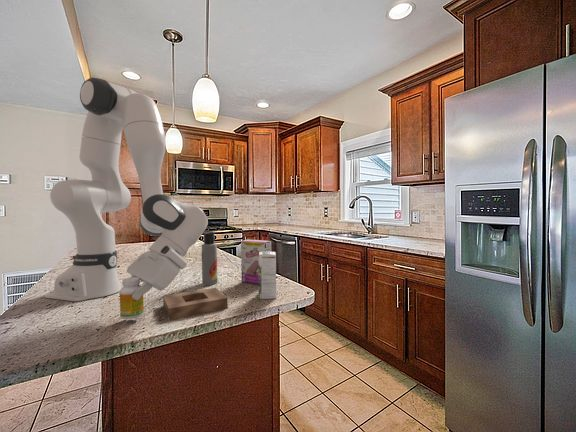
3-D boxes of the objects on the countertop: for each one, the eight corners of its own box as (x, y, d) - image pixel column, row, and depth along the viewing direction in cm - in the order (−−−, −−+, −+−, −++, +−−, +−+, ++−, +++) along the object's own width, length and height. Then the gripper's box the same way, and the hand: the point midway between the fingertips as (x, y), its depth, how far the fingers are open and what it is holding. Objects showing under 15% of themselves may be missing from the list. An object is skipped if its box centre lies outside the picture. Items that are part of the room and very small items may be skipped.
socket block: (169, 319, 75) (168, 308, 74) (163, 305, 85) (163, 296, 85) (227, 307, 83) (227, 297, 83) (215, 296, 93) (215, 287, 93)
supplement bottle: (133, 320, 71) (132, 282, 70) (115, 318, 72) (114, 281, 72) (148, 312, 76) (147, 276, 76) (130, 310, 77) (129, 275, 77)
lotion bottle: (220, 282, 110) (219, 231, 109) (209, 286, 105) (208, 232, 104) (210, 280, 113) (209, 230, 112) (199, 283, 108) (197, 232, 107)
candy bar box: (240, 282, 109) (240, 240, 109) (247, 279, 114) (247, 239, 113) (266, 285, 105) (265, 242, 104) (272, 282, 109) (271, 240, 109)
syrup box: (258, 293, 95) (258, 251, 95) (276, 293, 96) (275, 251, 95) (258, 299, 90) (257, 254, 89) (276, 298, 90) (276, 254, 90)
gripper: (143, 242, 85) (107, 281, 79) (173, 250, 71) (132, 298, 65) (158, 255, 89) (125, 293, 82) (190, 265, 75) (153, 311, 68)
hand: (128, 295), depth 73 cm, fingers closed on supplement bottle, 5 cm apart
